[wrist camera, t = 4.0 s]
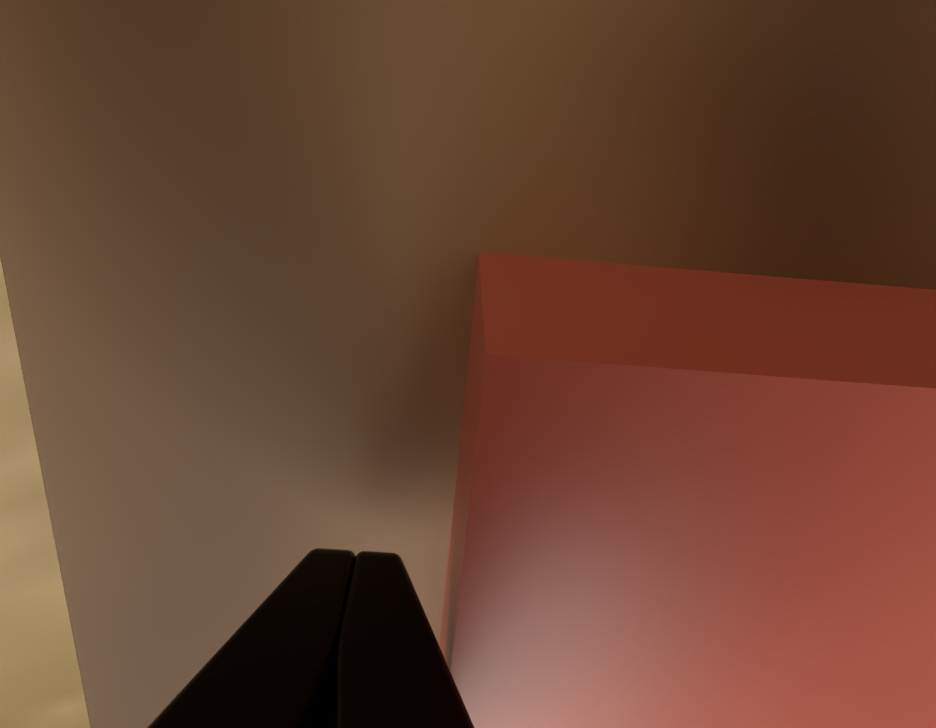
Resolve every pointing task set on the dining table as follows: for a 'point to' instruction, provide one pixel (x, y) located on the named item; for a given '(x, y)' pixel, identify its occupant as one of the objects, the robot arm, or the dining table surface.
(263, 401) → the deck
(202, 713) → the robot arm
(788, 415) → the terracotta red slab
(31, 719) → the dining table surface
